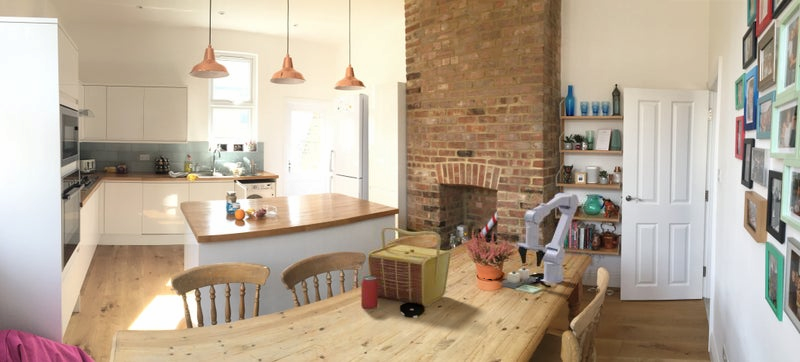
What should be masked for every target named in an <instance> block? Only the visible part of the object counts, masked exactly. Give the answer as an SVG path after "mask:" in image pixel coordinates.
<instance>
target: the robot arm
mask: <svg viewBox="0 0 800 362" xmlns="http://www.w3.org/2000/svg"><path fill="white" fill-rule="evenodd" d="M579 203H580V200H579V197H578V196H577V194H574V193H573V194H570V193H563V192H558V193H556V194H555V195H554V197H553V198H552V199H550V200H549V201H548V202H547V203H546V202H545V203H542V202H541V203H539V205H538V206H536V207H534V208H533V209H532V210H530V209H528V210H527V211H525V213H524V216H523V220H524V222H525V223H524V225H525V243H523V242H518V243H517V244H516V248H518V249H517V251H518V253H519V256H520V258H521V259H520V260H521V263H522V264H526V263H527V252H528V250H533V251H536V252H535V255H536V267H541V264H542V261H543V264H544V265H543V266H544V268H543V270H544V271H543V272H544V273H543V279H540V281H542V282H546V283H551V284H554V285H555V284H559V283H561V282H564V281H565V279H563V272H564V269H563V267H564V266H563V265H562V264H563V262H564V261H565V254H566V250H565V249H564V248H563V245H564V242H565V239H566V237H567V234H568V231H569V229H570V226H571V225H572V222H573V219H574V215H575V213H576V212H577V209H578V206H579ZM555 208H558V210H559V212H561V216H560V218H559V221H558V224H557V226H556V229H555V232H554V234H553V237H552V239H551V241H550V243H547V244H545V246H542V245H539V235H540V234H539V233H540V232H539V231H540V224H541V223H542V221H543V219H544V218H546V216H548V215H550V213H551V212H552V211H551V210H553V209H555Z"/></svg>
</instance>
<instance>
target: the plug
mask: <svg viewBox="0 0 800 362" xmlns="http://www.w3.org/2000/svg"><path fill="white" fill-rule="evenodd" d="M507 279H508V282H510V283H515V284H516V283H519V282H520V273H518V272H516V271H515V270H514V271H513V270H512V271H511V272H507Z"/></svg>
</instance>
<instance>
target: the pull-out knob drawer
mask: <svg viewBox="0 0 800 362" xmlns="http://www.w3.org/2000/svg"><path fill="white" fill-rule="evenodd" d="M517 273H520V278H522V279H524V280H527V279H529V276H530V273H531V272H530V269H526V267H522V268H520V269H518V270H517Z"/></svg>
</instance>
